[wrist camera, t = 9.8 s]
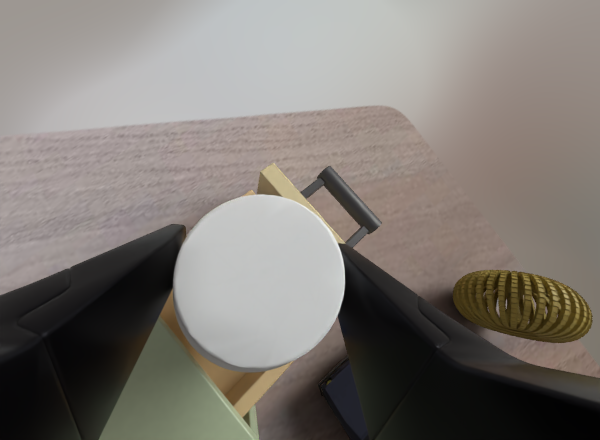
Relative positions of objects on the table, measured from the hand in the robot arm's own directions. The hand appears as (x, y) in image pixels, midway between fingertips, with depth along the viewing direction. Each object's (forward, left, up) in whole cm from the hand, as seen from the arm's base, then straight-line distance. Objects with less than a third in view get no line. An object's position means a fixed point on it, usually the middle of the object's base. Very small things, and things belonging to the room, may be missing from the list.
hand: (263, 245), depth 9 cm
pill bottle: (-1, -1, -7) cm, 7 cm away
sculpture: (+13, -15, -11) cm, 23 cm away
